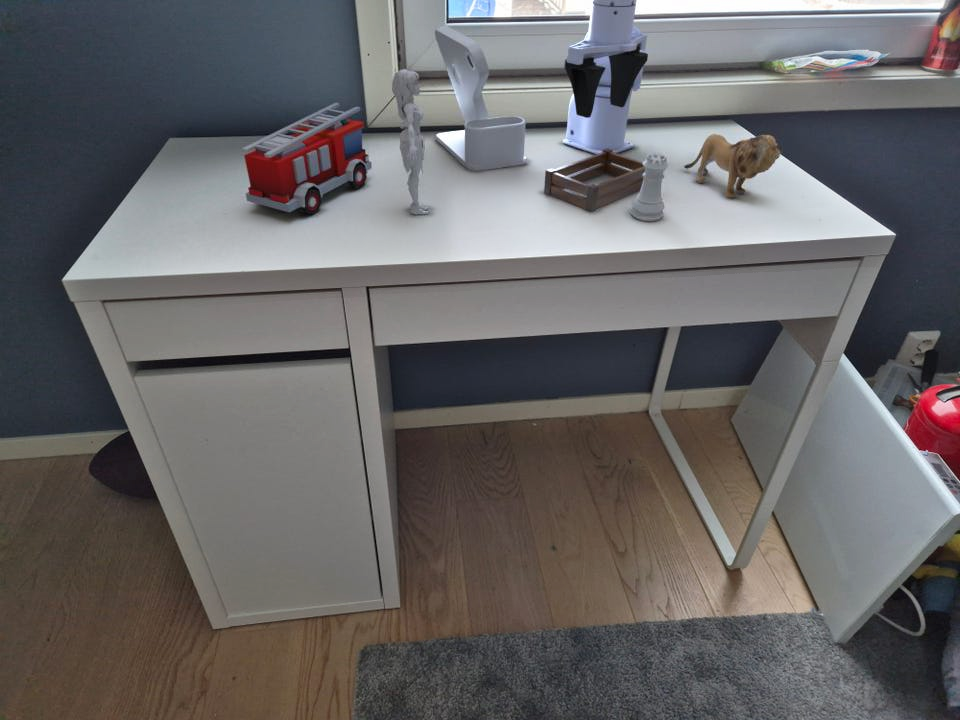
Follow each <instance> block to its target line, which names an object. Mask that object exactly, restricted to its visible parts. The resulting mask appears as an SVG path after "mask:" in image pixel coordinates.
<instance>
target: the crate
mask: <svg viewBox="0 0 960 720" xmlns="http://www.w3.org/2000/svg"><path fill="white" fill-rule="evenodd" d="M643 162H644V161H640V160H637V159H634V158H631V157H629V156H625V155H622V154H619V153H613V150H610V149H604V150H603V152H602V153H599V154H593V155H591V156H587V157H584V158H582V159H579V160H576V161H574V162H570V163H568V164H565V165H563V166H559V167H557V168H548V169H545V172H544V173H545V174H544V185H543V186H544V187H543V193H544V194H546V195H548V196H553V197H555V198H558V199H560V200H562V201H565V202H568V203H570V204H572V205H575V206H577V207H579V208H581V209H584V210H585V211H587V212H590V213H592V212H594V211H596V210H597V209H600V208H602V207H604V206H607V205H609V204H611V203H613V202H616V201H618V200H621V199H623V198H625V197H628V196H630V195H632V194H635V193H636V192H640V190H641V186H642V183H643V178H644V177H643V173H645V168H644V166H643ZM603 174H607V175H610V176H613V178H611V179H608V180H605V181H603V182H601V183H597V184H593V183H592V184H587V183H585V181H588V180H590V179H593V178H595V177H598V176H601V175H603Z"/></svg>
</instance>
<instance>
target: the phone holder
mask: <svg viewBox="0 0 960 720" xmlns="http://www.w3.org/2000/svg"><path fill="white" fill-rule="evenodd" d="M434 36H435V40H436V44H437V46H438V48H439V52H440V54H441V57H442V60H443V64H444V66H445V69H446V72H447V74H448V78H449V80H450V84H451V85H452V89H453V91H454V95H455V98H456V100H457V103H458V106H459V109H460V112H461V114H462V117H463V120H464V129H462V130H453V131H446V132H439V133H437V134H436V141H437V142H438V143H439V144H440V145H441V146H442V147H444V148H445V149H446V150H447V151H448V152H449V153H450V154H451V155H452V156H454V158H455V159H456V160H458V161H459V162H460V163H461V164H462V165H463V166H464V167H465V168H466V169H467V170H469V171H473V172H481V171H488V170H495V169H500V168H501V169H502V168H507V167H515V166H516V167H517V166H522V165H525V164H526V163H527V156H526V155H525V141H526V125H527V124H526V123H527V122H526V120H525V119H524V118H522V117H519V116H514V115H507V116H499V117H498V116H497V117H490V116H489V113H488V110H487V106H486V103H485V100H484V97H483V90H484V88H485V85H486V83H487V81H488V78H489V76H490V70H489V65H488V62H487V59H486V55H485V54H484V51H483V49H482V48H481V46H480V45H479V44H480V43H478V42H477V41H475V40H474V39H472V38H470V37H468V36H467V35H465V34H463V33H461V32H459V31H457V30H455V29H453V28H451V27H450V26H447V25H443V26H441V27H439V28H436V29H435V30H434Z"/></svg>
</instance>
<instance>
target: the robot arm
mask: <svg viewBox="0 0 960 720" xmlns="http://www.w3.org/2000/svg"><path fill="white" fill-rule="evenodd" d="M590 5H591V6H590V15H589V23H588V32H586V35H585V37H584V39H583V40H581V41H579V42H577V43H575V44H573V45H569V46H567V56H566V58H565V59H564V64H563V68H564V70H565V72H566V74H567V76H568V79H569V82H570V86H571V88H572V95H571V98H570V100H569V105H568V112H567V113H568V115H567V124H566V135H565V136H566V137H565V138H564V139H562V143H563V144H564V145H565V144H566V145H568V146H570V147H574V148H576V149H580V150H583V151H585V152H589V153H592V154H593V155H596V154H599V153H602V152H603V150H604V149H610V150H613V153H616V154H619V153H622V152H624V151H627V150H630V149H632V148H634V147H635V143H633V142H631V141H630V142H629V141H628V140H626V139H625V138H626V131H627V124H628V118H629V113H630V112H629V111H630V103H631V98H632V97H631V96H632V93H633V92H637V91H638V90H639V89H640V88H641V86H642V85H641V84H642V79H643V72H644V66H645V65H646V63H647V62H648V57H649V54H648V53H647V52H646V47H647V39H648V34H646V33H642V32H641V30H639V29H638V27H637V26H635V24H634V23H635V22H634V21H635V14H636V13H635V12H636V6H637V0H591V4H590Z"/></svg>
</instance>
